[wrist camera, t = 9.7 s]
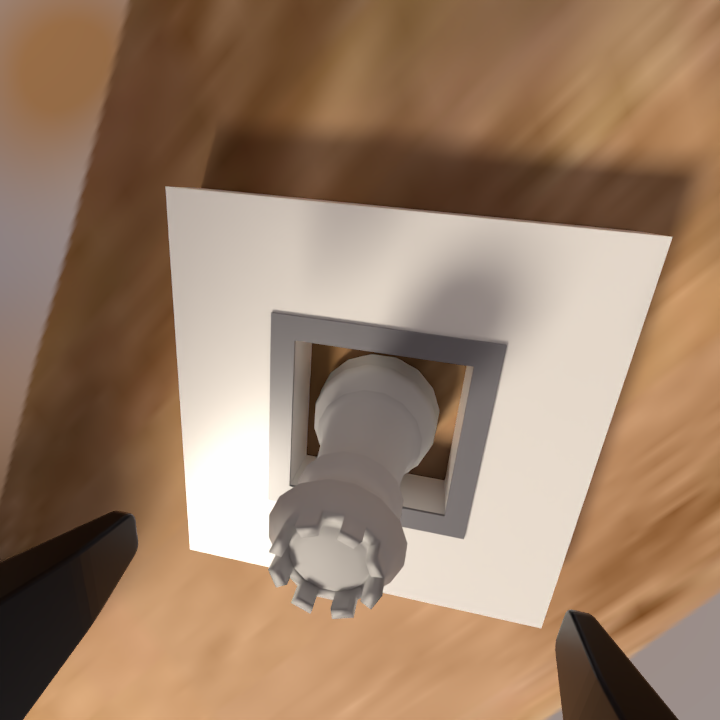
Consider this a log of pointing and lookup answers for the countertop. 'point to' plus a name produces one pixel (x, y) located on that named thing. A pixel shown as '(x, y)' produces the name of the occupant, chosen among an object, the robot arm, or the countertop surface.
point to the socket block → (416, 340)
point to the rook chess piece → (354, 485)
